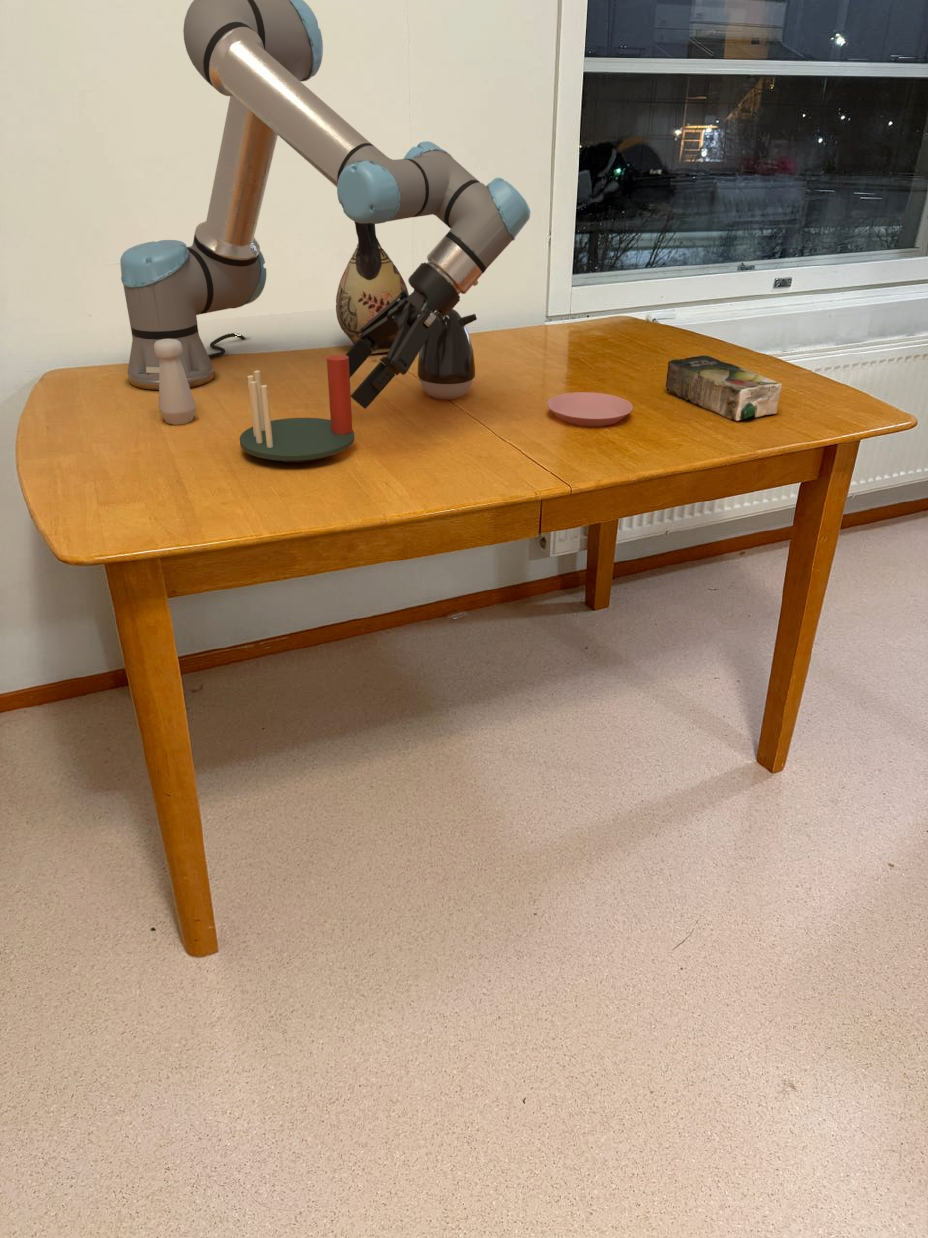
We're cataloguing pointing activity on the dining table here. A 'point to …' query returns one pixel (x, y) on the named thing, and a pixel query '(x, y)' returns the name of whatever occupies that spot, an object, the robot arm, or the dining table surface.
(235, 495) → the dining table surface
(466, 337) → the pump dispenser
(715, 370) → the juice carton
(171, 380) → the salt shaker
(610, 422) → the plate
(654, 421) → the dining table surface
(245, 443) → the drying rack
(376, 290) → the ceramic jug
